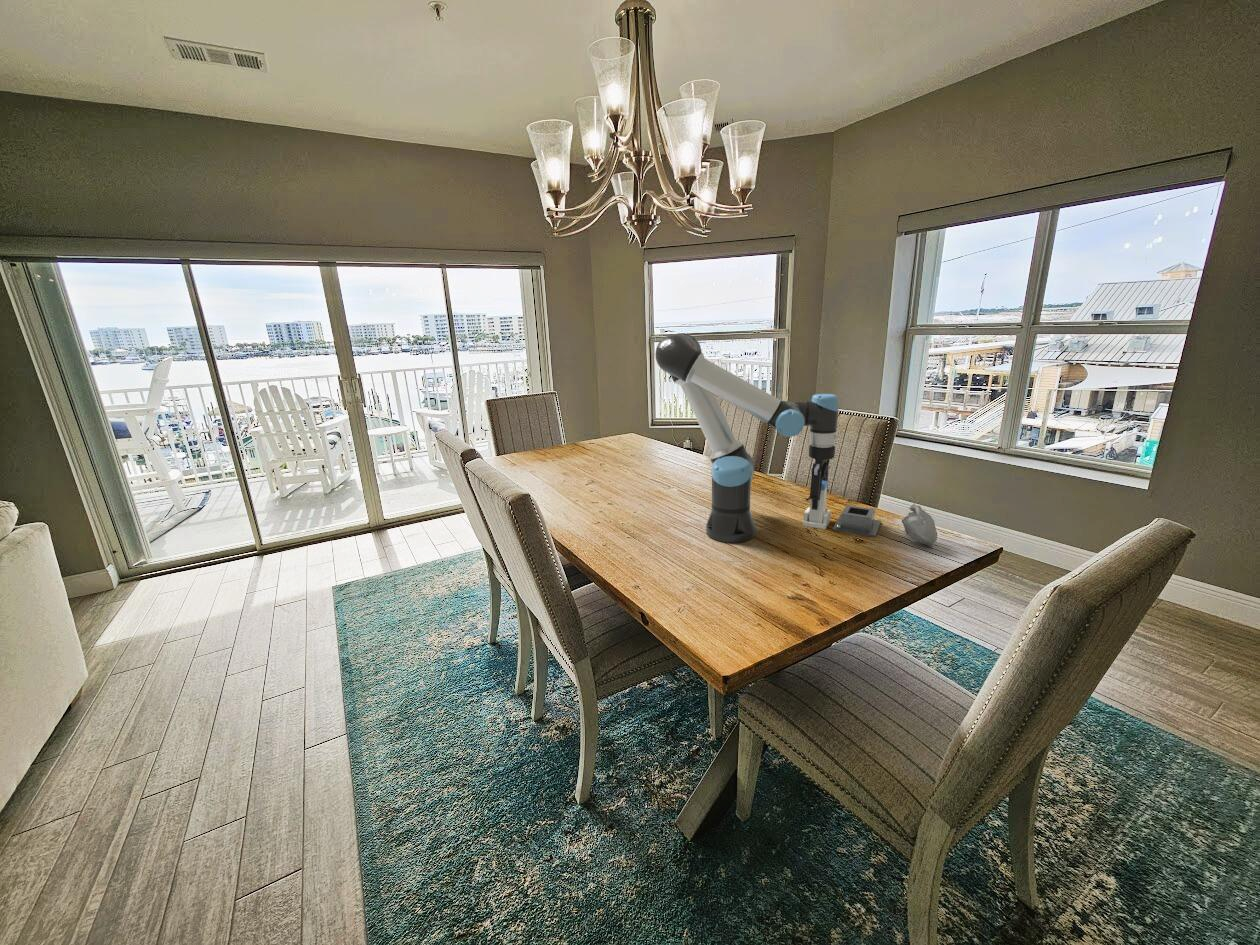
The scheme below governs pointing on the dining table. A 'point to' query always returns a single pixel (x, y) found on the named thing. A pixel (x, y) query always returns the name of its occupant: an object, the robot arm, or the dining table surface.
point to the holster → (822, 526)
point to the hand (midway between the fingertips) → (817, 514)
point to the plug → (822, 505)
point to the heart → (920, 526)
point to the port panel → (857, 521)
